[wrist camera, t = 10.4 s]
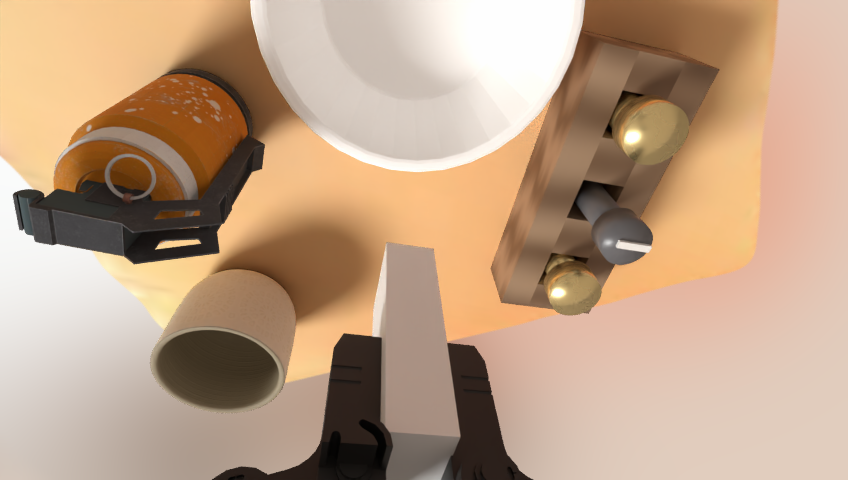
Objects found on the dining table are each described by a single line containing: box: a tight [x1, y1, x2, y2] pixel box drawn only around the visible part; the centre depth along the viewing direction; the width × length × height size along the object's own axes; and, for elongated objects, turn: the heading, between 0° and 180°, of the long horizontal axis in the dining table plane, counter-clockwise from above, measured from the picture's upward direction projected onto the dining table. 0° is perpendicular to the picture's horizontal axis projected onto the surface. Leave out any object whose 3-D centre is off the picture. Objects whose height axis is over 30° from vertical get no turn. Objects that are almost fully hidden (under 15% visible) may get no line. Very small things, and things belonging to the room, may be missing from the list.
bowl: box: [250, 0, 585, 172], centre depth 34 cm, size 22×22×8 cm
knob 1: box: [543, 253, 601, 315], centre depth 47 cm, size 5×5×9 cm
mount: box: [491, 30, 719, 313], centre depth 45 cm, size 26×10×6 cm, turn 168°
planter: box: [150, 269, 296, 413], centre depth 49 cm, size 12×12×11 cm
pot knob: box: [574, 180, 653, 265], centre depth 40 cm, size 4×4×10 cm
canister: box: [13, 69, 265, 264], centre depth 34 cm, size 9×11×20 cm
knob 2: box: [608, 90, 689, 165], centre depth 39 cm, size 5×5×9 cm
